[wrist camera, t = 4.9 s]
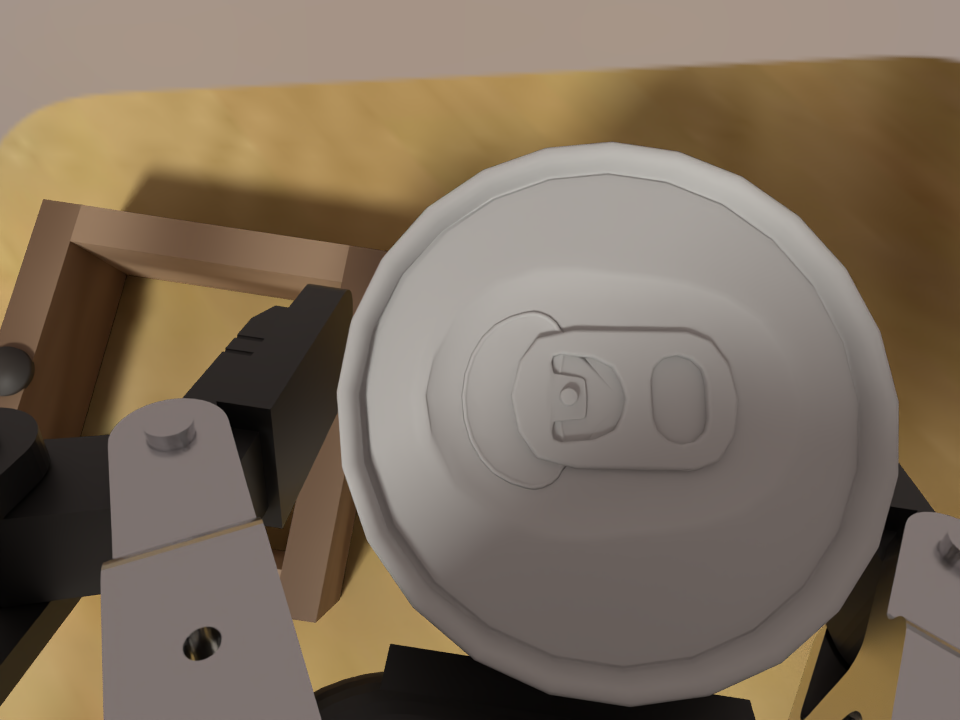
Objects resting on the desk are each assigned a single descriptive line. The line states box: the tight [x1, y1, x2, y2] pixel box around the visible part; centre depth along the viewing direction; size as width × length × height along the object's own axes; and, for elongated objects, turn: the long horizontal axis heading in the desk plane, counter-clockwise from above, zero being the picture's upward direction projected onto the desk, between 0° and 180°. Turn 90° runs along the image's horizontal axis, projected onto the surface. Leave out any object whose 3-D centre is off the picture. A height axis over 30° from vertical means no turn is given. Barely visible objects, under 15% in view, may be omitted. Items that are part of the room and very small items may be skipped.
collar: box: [0, 199, 388, 623], centre depth 15 cm, size 9×9×3 cm
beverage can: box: [337, 142, 899, 707], centre depth 11 cm, size 5×5×12 cm
